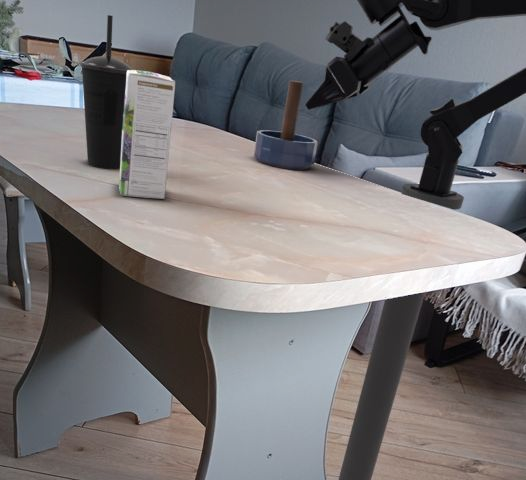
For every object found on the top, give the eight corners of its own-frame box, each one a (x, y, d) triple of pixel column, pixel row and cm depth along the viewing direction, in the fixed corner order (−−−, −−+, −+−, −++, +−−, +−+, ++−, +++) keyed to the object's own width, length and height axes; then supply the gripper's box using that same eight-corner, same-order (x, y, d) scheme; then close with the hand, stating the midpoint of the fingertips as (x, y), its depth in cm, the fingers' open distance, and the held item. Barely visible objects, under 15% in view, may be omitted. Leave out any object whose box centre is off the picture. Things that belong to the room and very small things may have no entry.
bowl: (279, 156, 125) (283, 130, 123) (324, 169, 119) (329, 142, 117) (241, 157, 117) (244, 130, 115) (287, 171, 111) (292, 143, 108)
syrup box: (118, 185, 83) (123, 67, 76) (162, 189, 84) (171, 74, 78) (119, 196, 78) (125, 71, 71) (166, 200, 79) (176, 79, 73)
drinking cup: (140, 167, 95) (149, 22, 86) (109, 173, 88) (115, 16, 79) (100, 157, 97) (104, 14, 88) (67, 161, 91) (68, 8, 82)
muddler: (289, 159, 119) (302, 81, 113) (293, 163, 117) (307, 83, 110) (273, 157, 118) (286, 79, 112) (277, 161, 116) (290, 80, 110)
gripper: (367, 11, 112) (298, 67, 119) (352, 0, 96) (273, 66, 103) (399, 65, 114) (330, 117, 121) (390, 64, 98) (311, 124, 105)
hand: (312, 106), depth 112 cm, fingers open, 9 cm apart
